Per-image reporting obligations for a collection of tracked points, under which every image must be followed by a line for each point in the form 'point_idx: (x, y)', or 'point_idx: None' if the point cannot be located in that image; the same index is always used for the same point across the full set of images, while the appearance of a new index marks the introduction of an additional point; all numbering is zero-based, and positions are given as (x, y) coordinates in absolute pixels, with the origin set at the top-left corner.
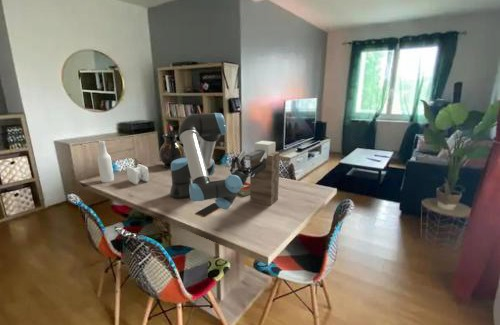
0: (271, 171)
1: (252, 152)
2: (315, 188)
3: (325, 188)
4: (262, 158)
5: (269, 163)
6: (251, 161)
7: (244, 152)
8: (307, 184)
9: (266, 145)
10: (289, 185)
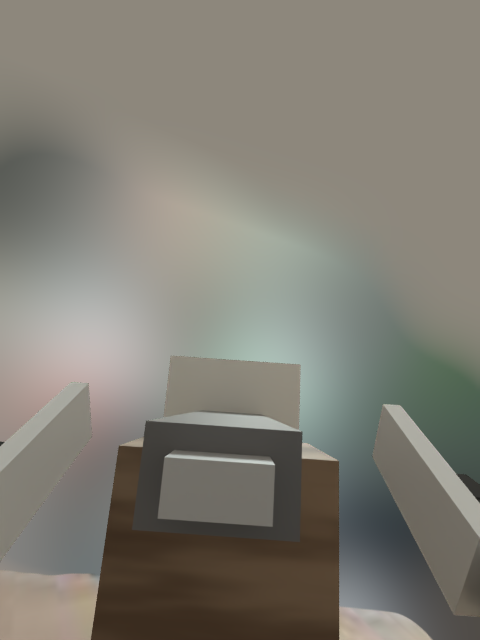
0: (336, 629)
1: (198, 414)
2: (355, 630)
3: (384, 619)
4: (454, 479)
5: (314, 539)
6: (119, 534)
7: (84, 418)
8: None
9: (280, 371)
10: None
